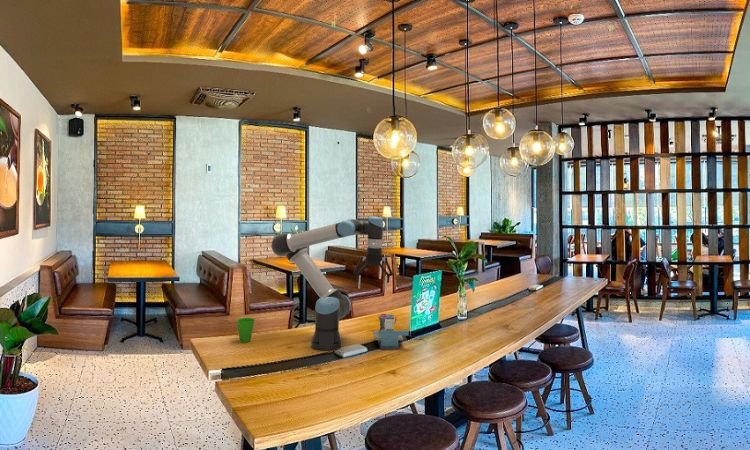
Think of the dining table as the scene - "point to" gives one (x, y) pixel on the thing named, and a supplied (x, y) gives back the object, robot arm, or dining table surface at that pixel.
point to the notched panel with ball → (389, 338)
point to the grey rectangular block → (389, 324)
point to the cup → (245, 329)
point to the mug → (382, 319)
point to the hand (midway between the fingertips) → (372, 288)
